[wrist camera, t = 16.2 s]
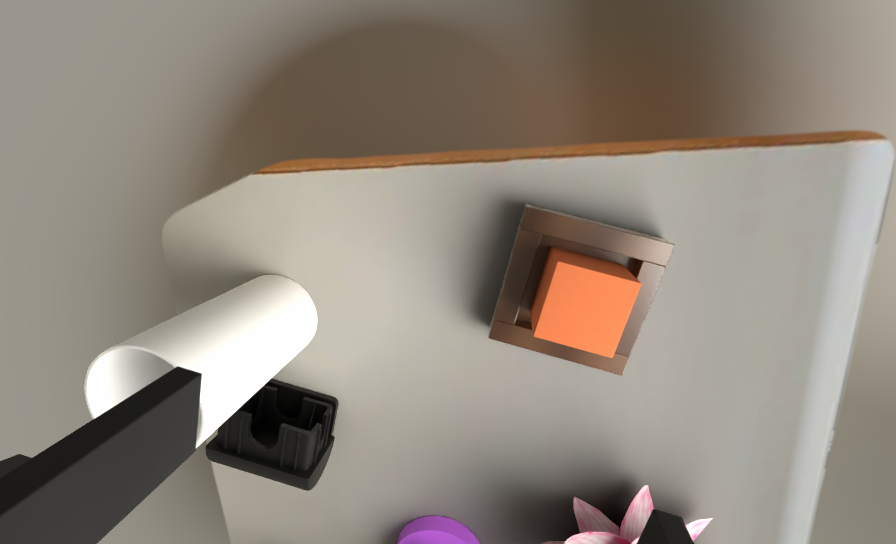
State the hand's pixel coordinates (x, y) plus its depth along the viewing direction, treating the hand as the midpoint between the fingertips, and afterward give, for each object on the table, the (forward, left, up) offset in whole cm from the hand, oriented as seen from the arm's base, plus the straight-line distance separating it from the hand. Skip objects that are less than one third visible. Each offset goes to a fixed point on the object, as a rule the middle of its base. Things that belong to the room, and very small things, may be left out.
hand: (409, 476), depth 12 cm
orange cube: (+6, +6, -26) cm, 27 cm away
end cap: (+5, -25, -27) cm, 37 cm away
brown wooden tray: (+6, +6, -27) cm, 28 cm away
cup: (-5, -20, -27) cm, 34 cm away
